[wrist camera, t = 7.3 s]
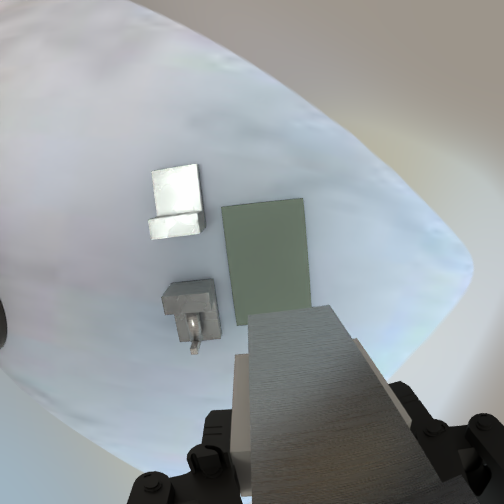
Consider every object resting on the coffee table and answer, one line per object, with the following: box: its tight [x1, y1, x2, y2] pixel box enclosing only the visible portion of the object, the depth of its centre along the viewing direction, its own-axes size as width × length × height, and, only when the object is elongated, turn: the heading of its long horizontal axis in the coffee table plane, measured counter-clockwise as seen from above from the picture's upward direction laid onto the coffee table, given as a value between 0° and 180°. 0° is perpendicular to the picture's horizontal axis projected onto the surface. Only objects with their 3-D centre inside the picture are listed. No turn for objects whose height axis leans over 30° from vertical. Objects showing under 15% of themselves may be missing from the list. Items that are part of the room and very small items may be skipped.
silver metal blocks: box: [148, 164, 222, 355], centre depth 34 cm, size 5×20×6 cm, turn 6°
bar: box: [248, 305, 480, 504], centre depth 11 cm, size 5×5×14 cm
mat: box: [221, 198, 311, 326], centre depth 37 cm, size 9×14×1 cm, turn 6°
